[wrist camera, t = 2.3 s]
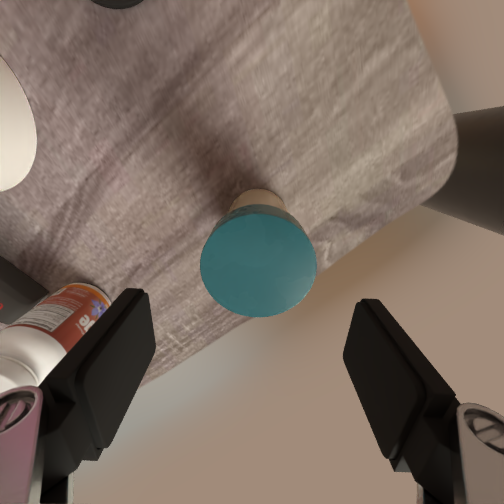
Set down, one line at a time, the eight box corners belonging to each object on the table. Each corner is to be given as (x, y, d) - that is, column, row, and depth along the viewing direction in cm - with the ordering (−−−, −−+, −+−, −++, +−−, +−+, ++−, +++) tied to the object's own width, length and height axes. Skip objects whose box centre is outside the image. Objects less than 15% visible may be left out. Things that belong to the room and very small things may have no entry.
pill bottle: (112, 330, 29) (36, 428, 19) (60, 317, 29) (-48, 410, 19) (117, 289, 27) (33, 375, 17) (60, 273, 26) (-64, 354, 16)
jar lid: (317, 206, 15) (327, 216, 12) (303, 299, 17) (309, 320, 15) (206, 201, 15) (197, 210, 12) (208, 294, 17) (202, 314, 15)
